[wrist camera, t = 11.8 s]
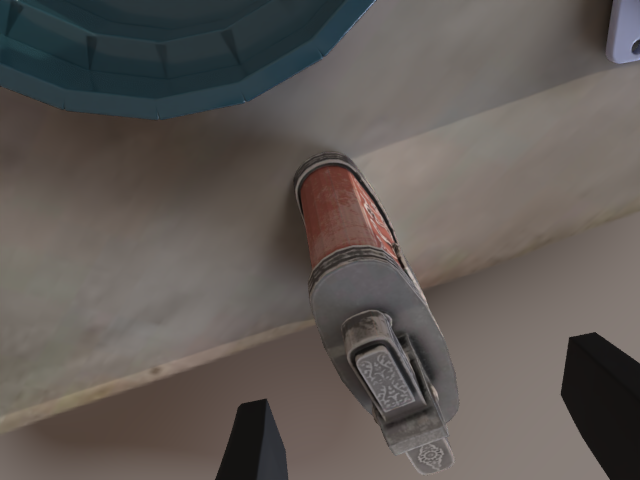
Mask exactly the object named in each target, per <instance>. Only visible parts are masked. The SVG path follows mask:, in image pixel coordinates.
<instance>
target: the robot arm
mask: <svg viewBox="0 0 640 480" xmlns="http://www.w3.org/2000/svg"><path fill="white" fill-rule="evenodd" d="M637 40H639V44H638V47H637V48H636V49H635V50H634V51H632V46H633V44H634V43H635V42H636V41H637ZM606 57H607V58H608V60H610V61H612V62H614V63H618V64H622V63H627V62H632V61H637V60H640V0H613V4H612V11H611V18H610V25H609V31H608V38H607V45H606ZM561 396H562V398H563V400H564V402H565V404H566V406H567V409H568V410H569V413H570V415H571V417H572V419H573V421H574V423H575V424H576V426H577V428H578V430H579V432H580V434H581V436H582V438H583V439H584V441H585V442H586V444H587V445H588V447H589V448H590V450H591V451H592V453H593V455H594V456H595V457H596V459H597V461H598V462H599V464H600V465H601V467H602V468H603V470H604V471H605V473H606V474H607V476H608V477H609V479H610V480H640V363H638V362H637V361H636V360H634V359H633V358H631V357H630V356H628V355H627V354H626V353H624V352H623V351H621V350H620V349H619V348H617V347H616V346H614V345H613V344H611V343H610V342H609V341H607V340H605V339H604V338H603V337H601V336H600V335H598V334H597V333H596V332H594V333H589V334H584V335H579V336H574V337H570V338H569V343H568V349H567V356H566V362H565V369H564V376H563V383H562V389H561ZM215 480H288V472H287V462H286V451H285V448H284V445H283V442H282V439H281V437H280V434H279V431H278V428H277V426H276V423H275V420H274V418H273V415H272V412H271V409H270V406H269V404H268V401H267V399H262V400H258V401H253V402H248V403H243V404H241V405H240V406H239V407H238V410H237V414H236V418H235V421H234V425H233V428H232V431H231V435H230V438H229V442H228V444H227V447H226V450H225V454H224V456H223V459H222V462H221V465H220V468H219V471H218V473H217V476H216V479H215Z"/></svg>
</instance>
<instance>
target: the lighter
mask: <svg viewBox="0 0 640 480" xmlns="http://www.w3.org/2000/svg"><path fill="white" fill-rule="evenodd" d="M294 188H295V195H296V200H297V203H298V207H299V210H300V213H301V216H302V220H303V223H304V226H305V229H306V234H307V240H308V246H309V253H310V259H311V266H312V272H311V275H310V277H309V280H308V289H309V298H310V305H311V310H312V313H313V316H314V319H315V322H316V325H317V328H318V331H319V333H320V337H321V339H322V343H323V345H324V348H325V350H326V352H327V353H328V355H329V357H330V359H331V361H332V363H333V365H334V367H335V368H336V370H337V372H338V374H339V376H340V378H341V380H342V381H343V383H344V384H345V385H346V386H347V387H348V389H349V390H350V391H351V392H352V394H353V395H354V396H355V397H356V399H357V400H358V401H359V402H360V404H361V405H362V406H363V407H364V408H365V409H366V410H367V411H368V412H369V413H370V414H371V415H372V416H373V417H374V420H375V422H376V423H377V424H378V425H379V426H380V427H381V430H382V433H383V435H384V438H385V440H386V442H387V444H388V446H389V448H390V450H391V451H392V453H393V454H394V455H399V454H402V453H404V452H405V453H406V455H407V457H408V458H409V460H410V461H411V463H412V464H413V466H414V468H415V469H416V471H417V472H418V473H420V474H423V475H431V474H434V473H438V472H441V471H443V470H445V469H448V468H450V467H451V466H452V465H453V464H454V462H455V458H454V455H453V453H452V449H451V447H450V444H449V441H448V439H447V437H448V436H449V433H448V428H447V425H446V423H447V422H448V421H450V420H451V419H452V418H453V417H454V415H455V414H456V413H457V411H458V408H459V397H458V390H457V381H456V374H455V370H454V367H453V364H452V361H451V358H450V355H449V352H448V349H447V345H446V343H445V339H444V337H443V335H442V333H441V330H440V328H439V326H438V324H437V322H436V320H435V318H434V317H433V315H432V313H431V311H430V310H429V307H428V305H427V301H426V298H425V296H424V294H423V292H422V289H421V287H420V285H419V283H418V281H417V278H416V276H415V274H414V272H413V270H412V269H411V267H410V265H409V263H408V261H407V260H406V258H405V256H404V254H403V253H402V251H401V248H400V245H399V242H398V239H397V236H396V233H395V230H394V228H393V225H392V223H391V221H390V219H389V217H388V215H387V213H386V211H385V209H384V208H383V206H382V204H381V202H380V200H379V198H378V197H377V195H376V193H375V191H374V189H373V188H372V186H371V185H370V184H369V182H368V181H367V180H366V178H365V177H364V176H363V174H362V173H361V172H360V170H359V169H358V168H357V166H356V165H355V164H354V162H353V161H352V160H351V159H350V158H348V157H347V156H346V155H343V154H340V153H337V152H324V153H321V154H317V155H314V156H312V157H311V158H309V159H308V160H306V161H305V162H304V163H303V164H302V165H301V166H300V168H299V169H298V170H297V172H296V175H295V178H294Z"/></svg>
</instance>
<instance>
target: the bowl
mask: <svg viewBox="0 0 640 480" xmlns="http://www.w3.org/2000/svg"><path fill="white" fill-rule="evenodd" d="M376 1H377V0H0V86H1V87H4V88H7V89H9V90H12V91H14V92H17V93H20V94H22V95H25V96H27V97H30V98H33V99H35V100H38V101H40V102H43V103H46V104H48V105H51V106H53V107H56V108H59V109H61V110H64V109H65V110H66V111H71V112H81V113H91V114H100V115H110V116H120V117H130V118H139V119H149V120H159V119H160V120H165V119H170V118H175V117H180V116H184V115H189V114H194V113H199V112H204V111H209V110H214V109H219V108H224V107H229V106H234V105H239V104H243V103H245V101H246V102H249V101H250V100H252V99H254V98H256V97H257V96H259V95H261V94H263V93H264V92H266V91H268V90H270V89H271V88H273V87H275V86H276V85H278V84H280V83H282V82H283V81H285V80H287V79H289V78H290V77H292V76H294V75H296V74H297V73H299V72H301V71H303V70H304V69H306V68H308V67H309V66H311V65H313V64H315V63H316V62H318V61H320V60H322V58H323V57H325V56H326V55H327V54H328V53H329V52H330V51H331V50H332V49H333V48H334V47H335V46H336V44H337V43H338V42H339V41H340V40H341V39H342V38H343V37H344V36H345V35H346V34H347V32H348V31H349V30H350V29H351V28H352V27H353V26H354V25H355V24H356V23H357V21H358V20H359V19H360V18H361V17H362V16H363V15H364V14H365V13H366V12H367V10H368V9H369V8H370V7H371V6H372V5H373V4H374V3H375V2H376Z"/></svg>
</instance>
